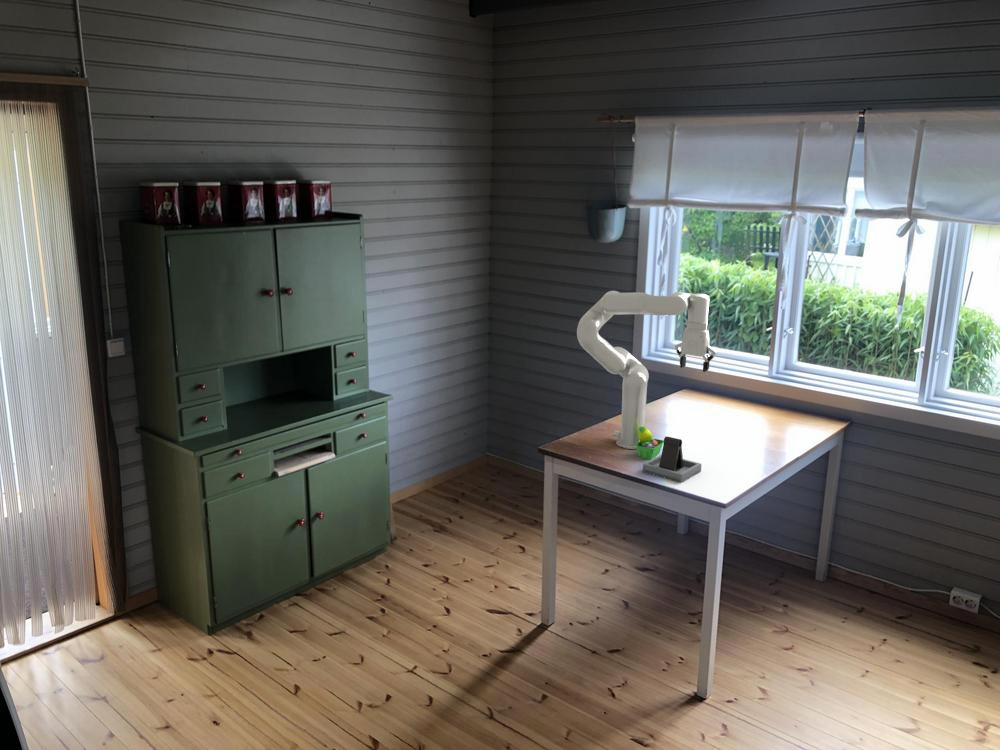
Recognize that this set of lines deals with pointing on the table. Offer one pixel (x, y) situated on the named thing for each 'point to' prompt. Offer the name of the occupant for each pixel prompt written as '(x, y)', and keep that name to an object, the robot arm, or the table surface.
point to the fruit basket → (648, 444)
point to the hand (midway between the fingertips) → (694, 369)
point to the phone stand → (672, 454)
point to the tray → (679, 476)
